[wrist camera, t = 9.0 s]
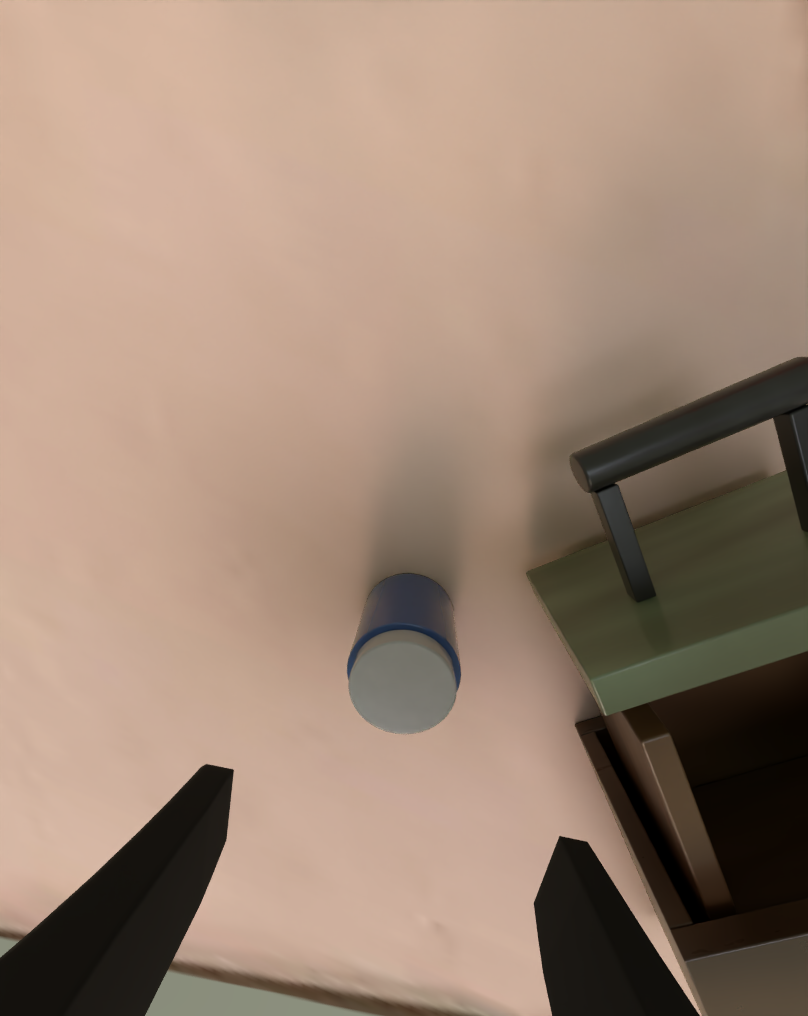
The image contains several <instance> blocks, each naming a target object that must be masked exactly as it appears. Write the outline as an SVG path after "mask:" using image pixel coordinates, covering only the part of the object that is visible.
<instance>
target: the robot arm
mask: <svg viewBox="0 0 808 1016" xmlns="http://www.w3.org/2000/svg"><path fill="white" fill-rule="evenodd" d="M233 772H234V770H233V769H228V768H223V767H218V766H213V765H208V764H206V765H204V766H202V767H201V768H200V769H199V770H198V771H197V772H196V773H195V774H194V775H193V776H192V778H191V779H190V780H189V781H188V782H187V783H186V784H185V785H184V786H183V787H182V788H181V789H180V790H179V791H178V792H177V793H176V795H175V796H174V797H173V798H172V799H171V800H170V801H169V802H168V803H167V804H166V805H165V806H164V807H163V808H162V809H161V810H160V811H159V812H158V813H157V814H156V815H155V816H154V817H153V818H152V819H151V820H150V821H149V822H148V823H147V824H146V825H145V826H144V827H143V828H142V829H141V830H140V831H139V832H138V833H137V834H136V835H135V836H134V837H133V838H132V839H131V840H130V841H129V842H128V843H127V844H125V845H124V846H123V847H122V848H121V849H120V850H119V851H118V852H117V853H116V854H115V855H114V856H113V857H112V858H111V859H110V860H109V861H108V862H107V863H106V864H105V865H104V866H103V867H102V868H101V869H99V870H98V871H97V872H96V873H95V874H94V875H93V876H92V877H91V878H90V879H89V880H88V881H87V882H85V883H84V884H83V885H82V886H81V887H80V888H79V889H78V890H77V891H75V892H74V893H73V894H72V895H71V896H70V897H69V898H68V899H67V900H65V901H64V902H63V903H62V904H61V905H60V906H59V907H58V908H57V909H55V910H54V911H53V912H52V913H51V914H50V915H49V916H48V917H47V918H45V919H44V920H43V921H42V922H41V923H40V924H39V925H38V926H37V927H35V928H34V929H33V930H32V931H31V932H30V933H29V934H27V935H26V936H25V937H24V938H23V939H22V940H20V941H19V942H18V943H17V944H16V945H15V946H13V947H12V948H11V949H10V950H9V951H8V952H6V953H5V954H4V955H3V956H2V957H1V958H0V1016H145V1014H146V1012H147V1010H148V1008H149V1006H150V1004H151V1002H152V1000H153V998H154V996H155V994H156V992H157V990H158V988H159V986H160V984H161V982H162V980H163V978H164V976H165V974H166V972H167V970H168V968H169V966H170V964H171V962H172V960H173V958H174V956H175V954H176V952H177V950H178V948H179V946H180V944H181V942H182V940H183V938H184V936H185V934H186V932H187V930H188V928H189V926H190V924H191V922H192V920H193V918H194V916H195V914H196V912H197V910H198V908H199V906H200V904H201V902H202V899H203V897H204V894H205V892H206V889H207V887H208V884H209V882H210V880H211V877H212V875H213V872H214V870H215V867H216V865H217V862H218V860H219V857H220V855H221V852H222V850H223V847H224V845H225V842H226V839H227V829H228V820H229V810H230V801H231V791H232V782H233ZM534 908H535V916H536V924H537V932H538V940H539V947H540V954H541V961H542V968H543V974H544V979H545V984H546V988H547V993H548V998H549V1002H550V1007H551V1011H552V1016H700V1015H699V1014H698V1012H697V1011H696V1009H695V1008H694V1006H693V1005H692V1003H691V1002H690V1000H689V999H688V997H687V996H686V994H685V993H684V991H683V990H682V988H681V987H680V985H679V984H678V982H677V981H676V979H675V978H674V976H673V975H672V973H671V972H670V970H669V969H668V967H667V966H666V964H665V963H664V961H663V960H662V958H661V957H660V955H659V954H658V952H657V951H656V949H655V947H654V946H653V944H652V943H651V941H650V940H649V938H648V937H647V935H646V934H645V932H644V930H643V929H642V927H641V926H640V924H639V923H638V921H637V919H636V918H635V916H634V915H633V913H632V912H631V910H630V908H629V907H628V905H627V904H626V902H625V901H624V899H623V897H622V896H621V894H620V893H619V891H618V889H617V888H616V886H615V885H614V883H613V881H612V880H611V878H610V877H609V875H608V874H607V872H606V870H605V869H604V867H603V866H602V864H601V862H600V861H599V859H598V858H597V856H596V855H595V853H594V851H593V850H592V848H591V847H590V845H589V844H588V842H586V841H581V840H576V839H571V838H566V837H561V836H559V839H558V842H557V844H556V847H555V849H554V852H553V855H552V857H551V860H550V862H549V865H548V868H547V870H546V873H545V875H544V878H543V881H542V883H541V886H540V888H539V891H538V894H537V896H536V899H535V901H534Z"/></svg>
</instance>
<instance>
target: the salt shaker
mask: <svg viewBox="0 0 808 1016" xmlns="http://www.w3.org/2000/svg"><path fill="white" fill-rule="evenodd" d="M347 675H348V680H349V685H348V687H349V694H350V697H351V700H352V703H353V705H354V707H355V708H356V710H357V711H358V713H359V714H360V715H361V716H362V717H363V718H364V719H365V720H366V721H367V722H369V723H370V724H372V725H373V726H375V727H377V728H379V729H381V730H384V731H387V732H391V733H395V734H414V733H419V732H423V731H426V730H428V729H430V728H432V727H434V726H436V725H437V724H439V723H440V722H441V721H442V720H443V719H444V718H445V717H446V716H447V715H448V713H449V712H450V710H451V709H452V707H453V704H454V702H455V698H456V693H457V690H458V688H459V684H460V679H461V667H460V659H459V651H458V643H457V636H456V628H455V620H454V612H453V606H452V603H451V600H450V598H449V596H448V595H447V593H446V592H445V590H444V589H443V588H442V587H441V586H440V585H439V584H437V583H436V582H434V581H433V580H431V579H429V578H427V577H425V576H422V575H417V574H409V573H408V574H398V575H394V576H391V577H389V578H386V579H385V580H383V581H381V582H380V583H379V584H378V585H376V586H375V587H374V589H373V590H372V591H371V593H370V594H369V596H368V598H367V601H366V604H365V607H364V610H363V613H362V616H361V620H360V623H359V626H358V629H357V632H356V636H355V639H354V642H353V645H352V649H351V652H350V655H349V658H348V663H347Z"/></svg>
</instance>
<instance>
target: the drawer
mask: <svg viewBox="0 0 808 1016" xmlns="http://www.w3.org/2000/svg"><path fill="white" fill-rule="evenodd" d="M806 404H808V357H797V358H793V359H791V360H789V361H786V362H784V363H782V364H779V365H777V366H775V367H772V368H770V369H768V370H765V371H763V372H761V373H758V374H756V375H754V376H751V377H749V378H747V379H744V380H742V381H740V382H737V383H735V384H733V385H730V386H728V387H726V388H723V389H721V390H719V391H716V392H714V393H712V394H709V395H707V396H705V397H702V398H700V399H698V400H695V401H693V402H691V403H688V404H686V405H684V406H681V407H679V408H677V409H674V410H672V411H670V412H668V413H665V414H663V415H661V416H658V417H656V418H654V419H651V420H649V421H647V422H644V423H642V424H640V425H637V426H635V427H633V428H630V429H628V430H626V431H623V432H621V433H619V434H616V435H614V436H612V437H609V438H607V439H605V440H602V441H600V442H598V443H595V444H593V445H591V446H588V447H586V448H584V449H581V450H579V451H577V452H574V453H572V454H571V455H570V466H571V470H572V472H573V475H574V477H575V479H576V481H577V483H578V484H579V486H580V487H581V488H582V489H583V490H584V491H585V492H587V493H591V496H592V498H593V501H594V504H595V507H596V509H597V512H598V515H599V517H600V520H601V523H602V526H603V528H604V531H605V534H606V537H607V539H608V540H606V541H604V542H601V543H599V544H596V545H594V546H591V547H589V548H586V549H583V550H581V551H578V552H576V553H573V554H571V555H568V556H565V557H563V558H560V559H558V560H555V561H553V562H550V563H548V564H545V565H542V566H540V567H537V568H535V569H532V570H530V571H527V572H526V574H527V577H528V579H529V581H530V584H531V586H532V588H533V591H534V593H535V596H536V597H537V599H538V601H539V603H540V604H541V606H542V608H543V610H544V611H545V613H546V615H547V617H548V618H549V620H550V622H551V624H552V625H553V627H554V629H555V631H556V632H557V634H558V636H559V638H560V639H561V641H562V643H563V645H564V646H565V648H566V650H567V652H568V653H569V655H570V657H571V659H572V660H573V662H574V664H575V666H576V667H577V669H578V671H579V672H580V674H581V676H582V678H583V679H584V681H585V683H586V685H587V686H588V688H589V690H590V692H591V693H592V695H593V697H594V699H595V700H596V703H597V705H598V708H599V710H600V712H601V715H602V717H603V720H604V722H605V725H606V727H607V729H608V732H609V734H610V737H611V739H612V742H613V744H614V746H615V749H616V751H617V754H618V756H619V759H620V761H621V763H622V766H623V768H624V771H625V773H626V776H627V778H628V780H629V783H630V785H631V788H632V790H633V793H634V795H635V797H636V800H637V801H638V803H639V805H640V807H641V809H642V811H643V812H644V814H645V816H646V818H647V820H648V822H649V824H650V826H651V828H652V830H653V832H654V833H655V835H656V837H657V839H658V841H659V843H660V845H661V847H662V848H663V850H664V852H665V854H666V856H667V858H668V860H669V862H670V863H671V865H672V867H673V869H674V871H675V873H676V875H677V877H678V879H679V880H680V882H681V884H682V886H683V888H684V890H685V892H686V894H687V895H688V897H689V899H690V901H691V903H692V905H693V907H694V909H695V910H696V912H697V914H698V916H699V918H700V920H701V922H706V921H711V920H715V919H719V918H724V917H728V916H732V915H736V914H741V913H745V912H749V911H753V910H758V909H762V908H766V907H771V906H775V905H779V904H783V903H788V902H792V901H796V900H801V899H805V898H808V405H806ZM772 418H773V419H774V423H775V427H776V431H777V435H778V439H779V443H780V447H781V451H782V455H783V459H784V463H785V467H786V471H783V472H781V473H778V474H776V475H773V476H771V477H768V478H765V479H763V480H760V481H758V482H755V483H753V484H750V485H748V486H745V487H742V488H740V489H737V490H735V491H732V492H730V493H727V494H724V495H722V496H719V497H717V498H714V499H712V500H709V501H706V502H704V503H701V504H699V505H696V506H694V507H691V508H689V509H686V510H683V511H681V512H678V513H676V514H673V515H671V516H668V517H665V518H663V519H660V520H658V521H655V522H653V523H650V524H648V525H645V526H642V527H640V528H637V529H635V530H634V529H633V526H632V523H631V520H630V517H629V515H628V512H627V509H626V506H625V503H624V500H623V497H622V495H621V492H620V489H619V486H618V485H617V484H615V483H616V482H618V481H621V480H623V479H626V478H628V477H630V476H633V475H635V474H638V473H640V472H643V471H645V470H647V469H650V468H652V467H655V466H657V465H660V464H662V463H665V462H667V461H669V460H672V459H674V458H677V457H679V456H682V455H684V454H686V453H689V452H691V451H694V450H696V449H699V448H701V447H703V446H706V445H708V444H711V443H713V442H716V441H718V440H720V439H723V438H725V437H728V436H730V435H733V434H735V433H738V432H740V431H742V430H745V429H747V428H750V427H752V426H755V425H757V424H759V423H762V422H764V421H767V420H769V419H772Z"/></svg>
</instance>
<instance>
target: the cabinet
mask: <svg viewBox="0 0 808 1016" xmlns="http://www.w3.org/2000/svg"><path fill="white" fill-rule="evenodd" d="M575 727H576V729H577V731H578V734H579V736H580V738H581V741H582V743H583V745H584V748H585V750H586V752H587V755H588V757H589V759H590V762H591V764H592V766H593V769H594V771H595V773H596V775H597V778H598V780H599V782H600V785H601V787H602V789H603V792H604V794H605V796H606V799H607V801H608V803H609V806H610V808H611V810H612V813H613V815H614V817H615V820H616V822H617V824H618V826H619V829H620V831H621V833H622V836H623V838H624V840H625V843H626V845H627V847H628V850H629V852H630V854H631V857H632V859H633V861H634V864H635V866H636V868H637V871H638V873H639V875H640V877H641V880H642V882H643V884H644V887H645V889H646V891H647V894H648V896H649V898H650V901H651V903H652V905H653V908H654V910H655V912H656V915H657V917H658V919H659V921H660V924H661V926H662V928H663V930H664V932H665V935H666V937H667V939H668V941H669V943H670V946H671V948H672V950H673V952H674V955H675V957H676V959H677V961H678V963H679V966H680V968H681V970H682V972H683V975H684V977H685V979H686V981H687V983H688V986H689V988H690V990H691V992H692V994H693V997H694V999H695V1001H696V1003H697V1006H698V1008H699V1010H700V1012H701V1014H702V1016H808V898H805V899H801V900H796V901H792V902H788V903H783V904H779V905H775V906H771V907H766V908H762V909H758V910H753V911H749V912H745V913H741V914H736V915H732V916H728V917H724V918H719V919H715V920H711V921H706V922H701V920H700V918H699V916H698V914H697V912H696V910H695V909H694V907H693V905H692V903H691V901H690V899H689V897H688V895H687V894H686V892H685V890H684V888H683V886H682V884H681V882H680V880H679V879H678V877H677V875H676V873H675V871H674V869H673V867H672V865H671V863H670V862H669V860H668V858H667V856H666V854H665V852H664V850H663V848H662V847H661V845H660V843H659V841H658V839H657V837H656V835H655V833H654V832H653V830H652V828H651V826H650V824H649V822H648V820H647V818H646V816H645V814H644V812H643V811H642V809H641V807H640V805H639V803H638V801H637V800H636V797H635V795H634V793H633V790H632V788H631V785H630V783H629V780H628V778H627V776H626V773H625V771H624V768H623V766H622V763H621V761H620V759H619V756H618V754H617V751H616V749H615V746H614V744H613V742H612V739H611V737H610V734H609V732H608V729H607V727H606V725H605V722H604V720H603V717H602V716H599V717H596V718H593V719H590V720H587V721H584V722H581V723H578V724H575Z"/></svg>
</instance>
